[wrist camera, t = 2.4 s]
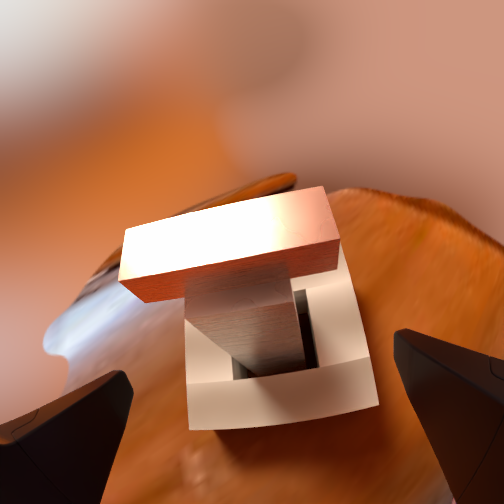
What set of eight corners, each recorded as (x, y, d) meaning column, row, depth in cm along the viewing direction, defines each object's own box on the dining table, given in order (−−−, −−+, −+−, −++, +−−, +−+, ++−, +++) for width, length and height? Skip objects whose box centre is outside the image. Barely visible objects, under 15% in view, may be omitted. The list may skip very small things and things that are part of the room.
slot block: (366, 407, 16) (379, 404, 13) (212, 428, 17) (189, 429, 14) (336, 271, 21) (339, 241, 18) (205, 295, 22) (185, 270, 19)
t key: (319, 320, 20) (316, 169, 8) (327, 365, 18) (347, 262, 7) (233, 334, 20) (129, 212, 9) (237, 378, 19) (115, 303, 7)
